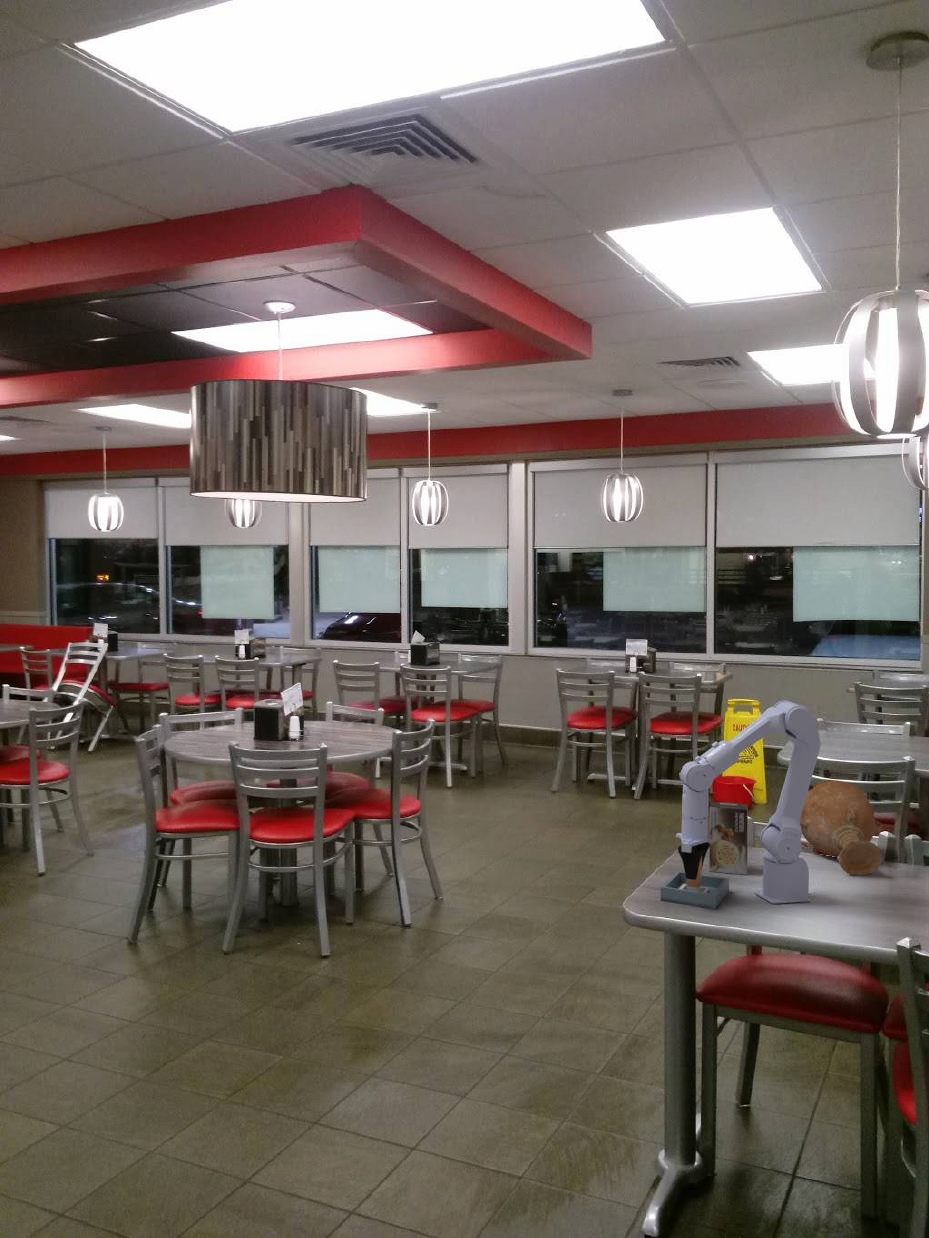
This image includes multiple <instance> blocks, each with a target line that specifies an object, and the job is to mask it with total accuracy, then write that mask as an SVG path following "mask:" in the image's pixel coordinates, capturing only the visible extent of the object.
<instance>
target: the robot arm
mask: <svg viewBox="0 0 929 1238" xmlns="http://www.w3.org/2000/svg"><path fill="white" fill-rule="evenodd" d="M817 723H818V718H817V717H816V716H815V715H814V713H813V712H812V710H810V709H809V707H808V706H805V705H801V704H797V703H795V702H792V701H791V700H787V699H784V700H780V701H778V702H776V703H775V704H774V705H773V706H771V707H769V708H767V709H766V710H765V711H764V712H763V713H762V714H761V715H760V716H758V718H756V719H755V720H754V721H752V723H750V724H749V725H748V726H746V727H745V728H743V730H742V731H741V732H739V733H738V734H737V735H736V736H734V737H733V738H731V740H729V741H726V740H720V741H719V742H718V741H715V742H713V743H712V744H711V747H710V749H708V750H707V751H705V752H704V753H703V754H701V755H700V756H699V755H696V757H695V758H694V760H695V761H693V760H692V761H688V762H686V763H685V764H684V765H682V769H680V772H679V773H678V774H679V779H680V781H681V782H682V797H681V800H682V801H681V832H678V833H676V834H675V838H677V839H680V841H681V845H679V846H678V847H677V852H678V854H679V856H680V858H681V861H682V865H683V870H684V872H685V875H686V878H687V879H692V880H696V878H697V875H698V869H699V863H700V860H701V857H702V868H703V866H704V862H705V857H706V855H707V854H708V853H707V852H708V850H709V847H710V843H709V842H708V841H709V839H710V836H709V834H708V832H709V830H708V829H709V789H710V788H711V787H712V785H713V784H714V783H713V782H714V779H716V778H718V777H719V776H720V775H722V774H723V773H724V772H726V771H727V770H729V769H730V768H731V767H733V765H736V763H738V762H739V758H740V754H741V753H742V752H744V751H745V750H746V749H748V748H750V747H752V746H753V745H754V744H755V743H757V742H759V741H760V740H762V739H764V738H765V737H766V736H767V735H769V734H786V736H787V737H788V738H789V740H790V741H791V743H792V745H793V750H792V753H791V757H790V761H789V764H788V767H787V771H786V775H785V778H784V782H783V784H782V785H783V786H782V789H781V792H780V797H779V800H778V803H777V807H776V811H775V812H774V814H773V815H771V816H770V818H769V820H768V823H767V825H766V826H765V827H764V828H763V830H762V831H761V833H760V837H759V838H760V844H761V845H762V847H763V849H764V853H763V862H762V863H763V865H762V866H763V867H762V889H761V890H754V894H756V895H757V896H759V897H761V899H764V900H765V901H767V902H768V903H770V904H773V905H774V904H775V905H776V904H778V905H779V904H788V903H792V904H793V903H802V902H804V903H808V902H811V898H809V886H810V884H809V883H810V871H809V866H808V864H807V862H806V860H805V859H804V858H803V857H800V856H801V853H802V849H803V847H802V841H801V840H802V839H801V838H802V835H803V834H802V830H801V825H800V817H801V814H802V810H803V807H804V803H805V800H806V796H807V793H808V791H809V788H810V785H811V782H812V778H813V774H814V771H815V767H816V763H817V762H818V761H817V760H818V757H819V753H820V750H821V745H822V744H821V743H822V742H821V738H820V735H819V730H818V727H817V726H818V725H817Z"/></svg>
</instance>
